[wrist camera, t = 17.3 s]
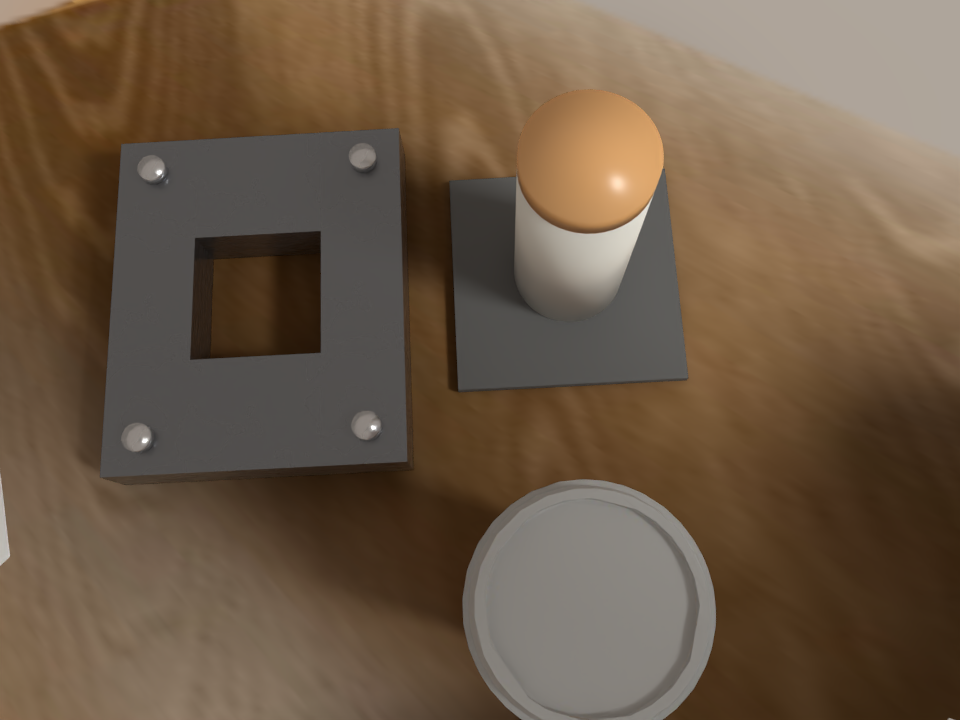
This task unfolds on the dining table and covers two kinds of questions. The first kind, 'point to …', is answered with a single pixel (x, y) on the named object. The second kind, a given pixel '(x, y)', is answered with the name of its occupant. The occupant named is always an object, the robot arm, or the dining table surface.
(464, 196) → the mat
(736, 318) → the dining table surface
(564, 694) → the disposable coffee cup
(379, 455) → the plate
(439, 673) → the dining table surface
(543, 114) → the white capped post
